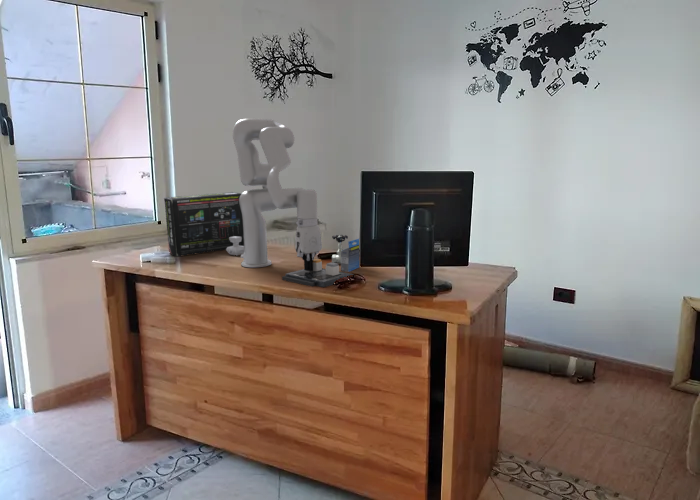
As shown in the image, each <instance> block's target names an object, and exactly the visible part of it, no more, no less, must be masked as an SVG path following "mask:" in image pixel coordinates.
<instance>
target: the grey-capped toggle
mask: <svg viewBox="0 0 700 500" xmlns="http://www.w3.org/2000/svg"><path fill="white" fill-rule="evenodd" d="M325 269H326V274H328V275H333V276H334V275H338V274H339V272H340V265H339V264H338V263H332V261H331V262H328V263H326V265H325Z"/></svg>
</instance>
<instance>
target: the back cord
mask: <svg viewBox="0 0 700 500" xmlns="http://www.w3.org/2000/svg"><path fill="white" fill-rule="evenodd" d="M322 269H324V270H326V268H324V267H322ZM339 273H344V274H349V275H354V276H355V274H353V273H350V272H344V271H339Z"/></svg>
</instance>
